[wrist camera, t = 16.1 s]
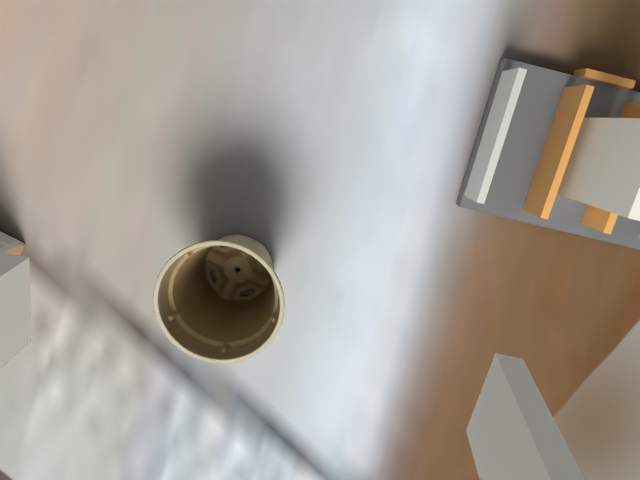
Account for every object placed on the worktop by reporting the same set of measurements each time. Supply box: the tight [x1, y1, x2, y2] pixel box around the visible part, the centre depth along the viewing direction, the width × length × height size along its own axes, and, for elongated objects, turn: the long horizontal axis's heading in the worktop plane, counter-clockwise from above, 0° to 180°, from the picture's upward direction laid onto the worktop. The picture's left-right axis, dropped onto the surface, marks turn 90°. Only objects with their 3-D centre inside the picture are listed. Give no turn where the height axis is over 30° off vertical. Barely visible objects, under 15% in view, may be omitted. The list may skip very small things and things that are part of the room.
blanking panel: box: [557, 117, 640, 221], centre depth 36 cm, size 6×3×12 cm, turn 167°
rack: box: [456, 58, 640, 250], centre depth 40 cm, size 13×16×5 cm
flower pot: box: [153, 235, 285, 364], centre depth 41 cm, size 9×9×9 cm
